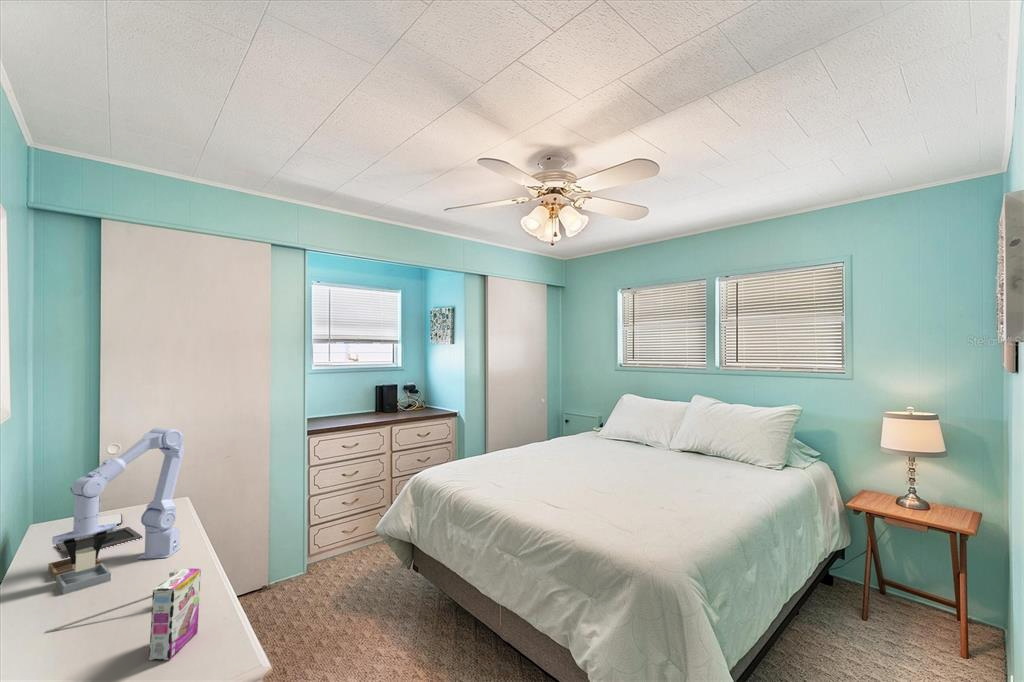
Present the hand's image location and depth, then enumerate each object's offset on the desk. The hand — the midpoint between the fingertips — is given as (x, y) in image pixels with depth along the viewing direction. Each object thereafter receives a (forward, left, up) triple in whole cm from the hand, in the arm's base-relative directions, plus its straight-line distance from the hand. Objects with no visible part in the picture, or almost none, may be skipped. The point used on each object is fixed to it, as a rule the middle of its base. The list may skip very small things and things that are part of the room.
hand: (84, 560), depth 142 cm
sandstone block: (0, 0, -2) cm, 2 cm away
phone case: (+28, -53, -7) cm, 61 cm away
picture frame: (+17, -32, -8) cm, 37 cm away
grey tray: (0, 0, -7) cm, 7 cm away
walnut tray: (+9, -9, -7) cm, 14 cm away
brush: (-24, +21, -7) cm, 33 cm away
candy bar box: (-46, +37, -7) cm, 59 cm away
